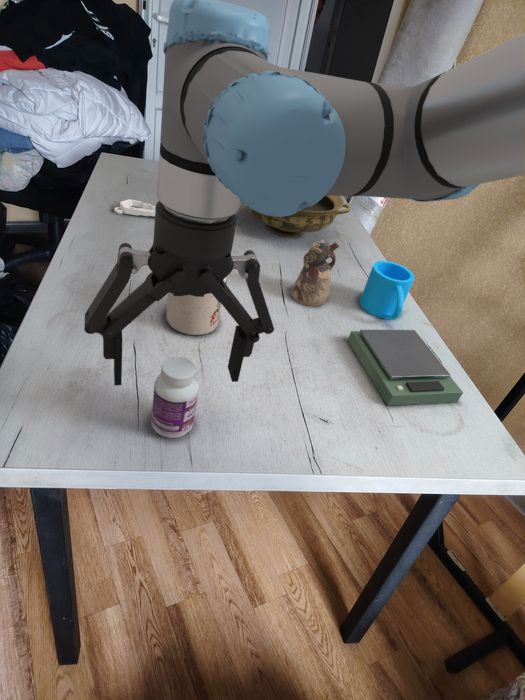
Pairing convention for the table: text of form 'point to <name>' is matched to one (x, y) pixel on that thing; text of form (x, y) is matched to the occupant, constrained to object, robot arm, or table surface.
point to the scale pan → (404, 354)
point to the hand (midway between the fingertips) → (177, 375)
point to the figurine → (315, 275)
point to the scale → (403, 381)
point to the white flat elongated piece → (127, 209)
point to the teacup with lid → (193, 313)
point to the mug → (386, 289)
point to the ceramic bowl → (306, 217)
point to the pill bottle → (175, 398)
